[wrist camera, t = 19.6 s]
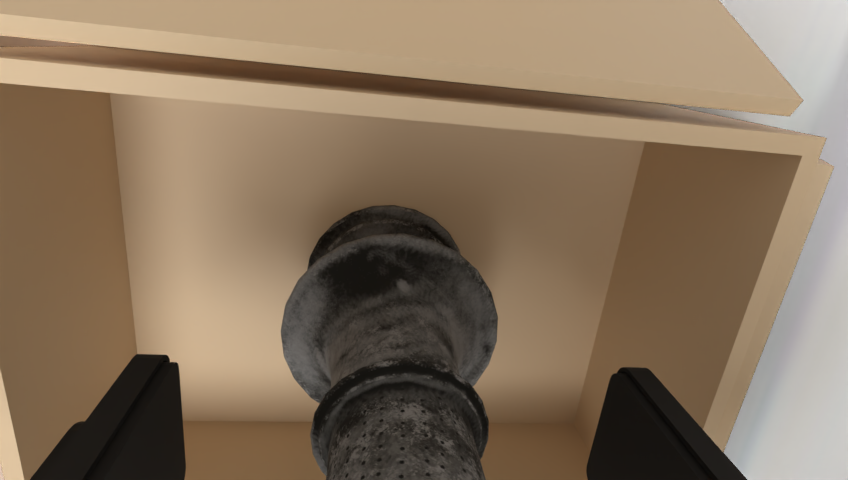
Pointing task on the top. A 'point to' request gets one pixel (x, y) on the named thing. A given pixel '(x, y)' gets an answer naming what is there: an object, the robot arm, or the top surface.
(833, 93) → the top surface
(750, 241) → the carton
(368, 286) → the weathered iron finial
